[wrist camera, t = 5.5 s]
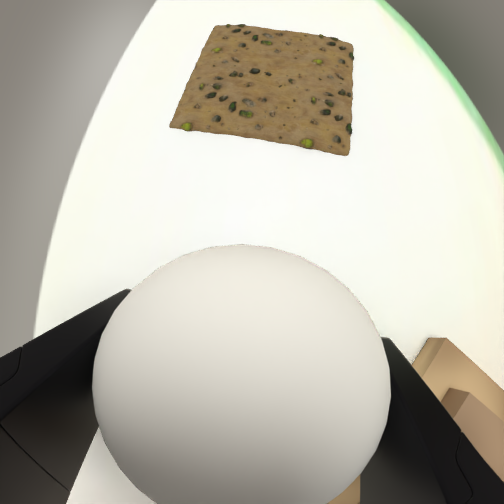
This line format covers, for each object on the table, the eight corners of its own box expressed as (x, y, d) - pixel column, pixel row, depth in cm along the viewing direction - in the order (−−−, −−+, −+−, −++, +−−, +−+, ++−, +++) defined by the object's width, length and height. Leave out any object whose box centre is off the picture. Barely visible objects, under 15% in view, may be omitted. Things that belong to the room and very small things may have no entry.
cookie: (213, 28, 23) (212, 20, 22) (353, 47, 22) (355, 39, 21) (167, 132, 20) (163, 124, 19) (349, 161, 19) (353, 153, 19)
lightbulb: (182, 419, 13) (55, 548, 3) (184, 291, 15) (41, 198, 4) (314, 421, 13) (418, 565, 3) (316, 293, 15) (444, 199, 4)
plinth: (416, 570, 12) (435, 596, 8) (278, 518, 14) (282, 555, 10) (529, 429, 14) (563, 437, 10) (428, 337, 16) (467, 337, 13)
